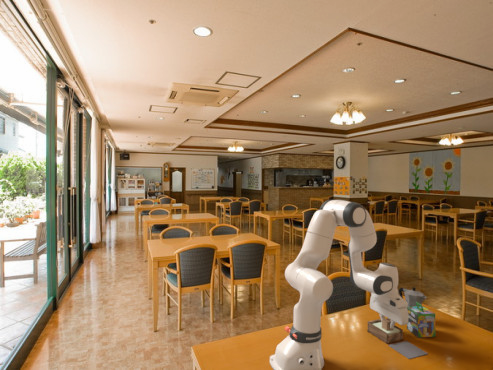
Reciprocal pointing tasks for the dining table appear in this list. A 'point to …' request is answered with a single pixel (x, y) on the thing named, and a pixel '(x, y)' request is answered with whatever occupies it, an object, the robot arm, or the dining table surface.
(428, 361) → the dining table surface
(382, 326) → the cover plate
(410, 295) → the coffeepot
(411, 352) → the mat
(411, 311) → the chalk box
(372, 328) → the open wooden box
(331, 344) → the dining table surface
